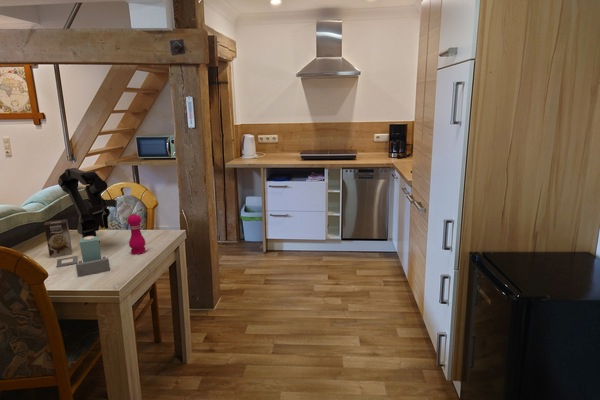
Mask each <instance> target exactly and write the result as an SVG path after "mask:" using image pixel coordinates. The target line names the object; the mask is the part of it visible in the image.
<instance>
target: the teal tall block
mask: <svg viewBox="0 0 600 400" xmlns="http://www.w3.org/2000/svg"><path fill="white" fill-rule="evenodd" d="M99 241H100V240H99V236H98V235H97V236H87V237H84V238H82V237H81V238H79V245H80V253H81V257H82V263H83V262H88V261H93V260H99V259H102V254H101V253H102V252H101V246H100V242H99Z"/></svg>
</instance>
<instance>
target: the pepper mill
mask: <svg viewBox="0 0 600 400" xmlns="http://www.w3.org/2000/svg"><path fill="white" fill-rule="evenodd" d="M130 214H131V215H129V216H128V217H127V221H126V222H127V223H128V225H129V226H128V227H129V230H130V233H131V234H130V238H129V242H128V246H129V248H130V253H131V255H133V256H134V255H135V256H136V255H141V254H142V255H143V254H144V253H146V239H145V237H144V236H143V234H142V232H141V228H142V224H141V222H142V217H141V216H140V215H138V214H136V212H135V211H132V212H131V213H130Z"/></svg>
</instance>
